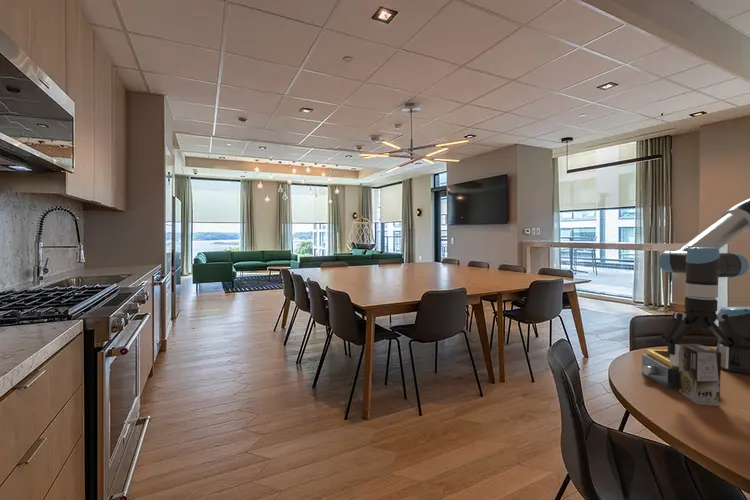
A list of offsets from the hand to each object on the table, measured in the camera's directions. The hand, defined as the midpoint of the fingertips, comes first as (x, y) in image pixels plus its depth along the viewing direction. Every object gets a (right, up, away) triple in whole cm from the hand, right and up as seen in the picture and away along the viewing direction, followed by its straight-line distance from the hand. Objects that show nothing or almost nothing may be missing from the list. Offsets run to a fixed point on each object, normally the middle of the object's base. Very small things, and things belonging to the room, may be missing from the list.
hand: (698, 365), depth 113 cm
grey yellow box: (+3, -10, +14) cm, 17 cm away
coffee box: (0, -11, +1) cm, 11 cm away
